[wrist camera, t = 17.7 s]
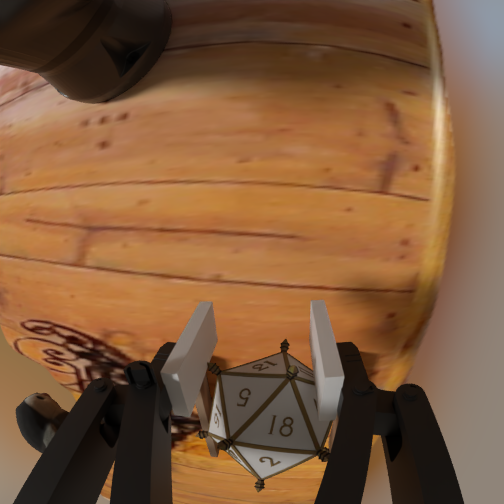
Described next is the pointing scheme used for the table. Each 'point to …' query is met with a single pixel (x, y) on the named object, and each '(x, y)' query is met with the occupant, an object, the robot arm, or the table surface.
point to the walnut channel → (204, 414)
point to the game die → (267, 415)
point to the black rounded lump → (39, 419)
